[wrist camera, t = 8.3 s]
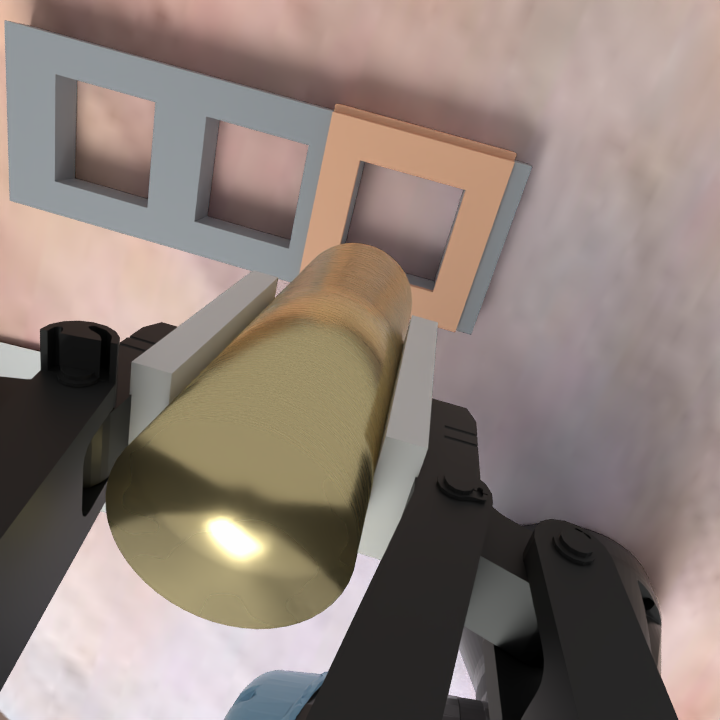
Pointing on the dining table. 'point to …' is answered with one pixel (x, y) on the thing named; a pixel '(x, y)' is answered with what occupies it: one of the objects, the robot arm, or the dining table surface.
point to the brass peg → (270, 452)
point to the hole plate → (197, 154)
